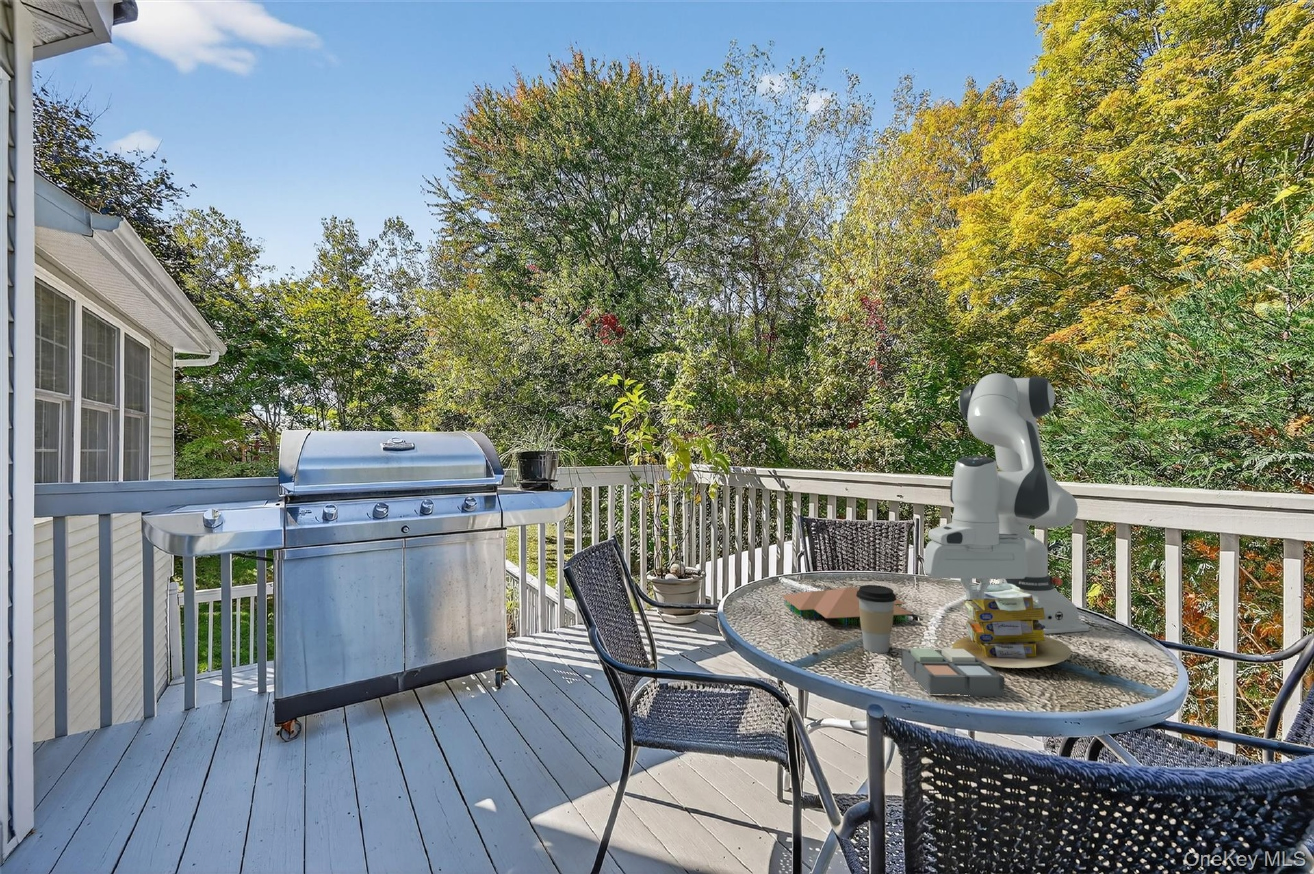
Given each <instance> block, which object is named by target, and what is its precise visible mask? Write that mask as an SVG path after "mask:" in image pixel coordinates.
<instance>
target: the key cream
mask: <svg viewBox="0 0 1314 874" xmlns="http://www.w3.org/2000/svg"><path fill="white" fill-rule="evenodd" d="M941 650H942V655H943V656H945V657H946V658H947V659H948V660H950V661H951V662H975V657H974V656H973V655H971V654H970V653H969V652H967V651H966V650H965V649H952V648H941Z"/></svg>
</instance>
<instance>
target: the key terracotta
mask: <svg viewBox="0 0 1314 874" xmlns="http://www.w3.org/2000/svg"><path fill="white" fill-rule="evenodd" d="M924 667H925V668H926V669H927V670H929V671H930V672H931V673H932V674H933V675H958V674H957V673H955V672H954V671H953V670H952V669H951V668H949V667H948V666H934V665H924Z"/></svg>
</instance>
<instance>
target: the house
mask: <svg viewBox="0 0 1314 874" xmlns="http://www.w3.org/2000/svg"><path fill="white" fill-rule="evenodd" d="M859 588H860V587H859ZM859 588H858V587H842V588H834V589H828V590H827V589H825V590H811V591H803V592H797V593H796V592H795V593H789V594H784V595H783V594H782V595H780V597H782V598H783V599H784V603H785V604H787V609H789V610H790V612H792V613H794V614H795V612H796V613H799V615H800V616H802V615H803V613H805V615H806V616H805V617H806V619H807V618H808V613H811V615H812V619H818V618H819V619H820V617H824V618H825V619H837V621H838V622H840V623H841V619H842V625H844V626H845V627H847V625H848V623H850V622H851V623H852V620H847V619H848V618H854V620H853V623H854V624H853V625H854V627H855V624H856V623H855V622H856V619H855V618H860V612H859V606H860V605H859V598H858V597H857V596H856V594H857V591H858V590H859ZM903 605H907V603H905V602H904V601H902V600H900V599H898V598H896V600H895V601H894V607H893V609H894V613H893V616H895V617H896V616H897V620H898V621H897V623H899V620H900V619H901V618H902V619H903V621H904V620H905V621H904V623H905V622H906V623H907V622H908V623H909V615H913V613H912V612H910V611H908V610H907V609H904V608H903V607H900V606H903ZM799 611H800V612H799ZM802 611H803V612H802ZM820 615H821V616H820ZM899 618H900V619H899ZM847 622H848V623H847ZM899 624H900V623H899Z"/></svg>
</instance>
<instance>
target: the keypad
mask: <svg viewBox="0 0 1314 874" xmlns="http://www.w3.org/2000/svg"><path fill="white" fill-rule="evenodd" d="M934 650H935V651H936V652H937V653H939V654H940V655H941V656H942V657H943V662H935V661H918V660H917V659H916V658H914V657H913V656H912V655H911V648H910V649H909V648H907V649H906V648H905V649H904V648H902V649H901V652H900V653H901V654H900V655H901V657H900V658H901V659H900V661H901V662H900V663H901V665H900V667H901V668H902V669H903V670H904V672H905V673H907V675H909V676H910V678H912V679H913V680H914V679H915V680H914V681H915V682H916V681H917V682H918V683H917V682H916V683H917V684H918V685H919V684H920V685H921V686H922V687H923V688H924V689H925V690H927V691H928V692H929V693H930V694H960V695H968V696H967V697H973V696H1004V697H1005V676H1003V675H1001V674H1000V673H999V672H997V670H995V669H994V668H992V666H989V665H987V664H985V663H984V662H983V661H981V660H980V659H979V658H977V657H976V656H975V655H973V654H972V653H971V652H969V651H968V650H966V651H967V652H969V653H970V654H971V655H973V656H974V657H975V662H951V661H950V660H948V659H947V658H946V657H945V656H943V655H942V649H934ZM924 665H934V666H948V667H949V668H951V669H952V670H953V671H954V672H955V673H957V674H958V675H933V674H932V673H931V672H930V671H929V670H927V669H926V668H925V667H924ZM957 666H981V667H982V668H983V669H985V670H986V671H987V672H989V673H990V674H991V675H967V674H965V673H964V672H963V671H962V670H961V669H959V668H958V667H957ZM920 685H919V686H920ZM921 686H920V687H921ZM922 687H921V688H922ZM923 688H922V689H923ZM924 689H923V690H924ZM925 690H924V691H925ZM969 695H970V696H969Z"/></svg>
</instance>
